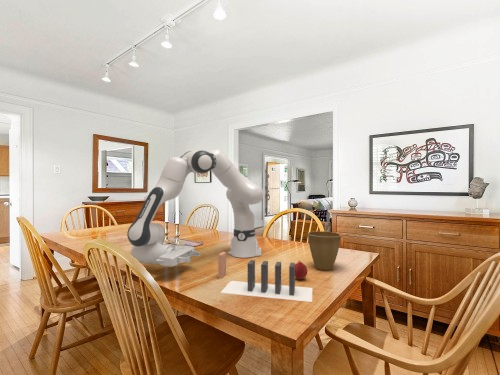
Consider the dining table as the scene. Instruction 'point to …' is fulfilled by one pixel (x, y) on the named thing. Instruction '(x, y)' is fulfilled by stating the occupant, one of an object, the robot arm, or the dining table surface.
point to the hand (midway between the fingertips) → (195, 256)
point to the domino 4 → (292, 279)
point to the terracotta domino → (221, 265)
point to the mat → (268, 291)
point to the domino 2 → (264, 276)
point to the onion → (300, 270)
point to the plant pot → (324, 248)
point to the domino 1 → (251, 275)
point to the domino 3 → (278, 278)
